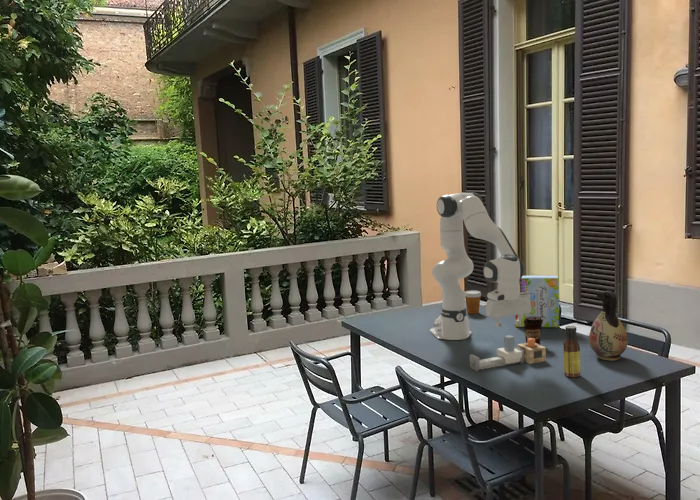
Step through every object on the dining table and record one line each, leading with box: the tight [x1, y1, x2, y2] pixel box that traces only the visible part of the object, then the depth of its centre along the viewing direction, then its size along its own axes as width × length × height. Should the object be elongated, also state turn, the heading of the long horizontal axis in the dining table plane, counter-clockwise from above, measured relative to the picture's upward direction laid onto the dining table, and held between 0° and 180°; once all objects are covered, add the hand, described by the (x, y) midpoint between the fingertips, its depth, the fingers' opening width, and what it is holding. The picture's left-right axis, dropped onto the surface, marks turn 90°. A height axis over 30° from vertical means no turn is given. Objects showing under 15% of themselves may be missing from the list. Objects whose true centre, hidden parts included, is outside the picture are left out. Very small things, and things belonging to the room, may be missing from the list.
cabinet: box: [516, 342, 547, 365], centre depth 262 cm, size 9×8×6 cm
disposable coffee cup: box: [464, 289, 482, 315], centre depth 342 cm, size 10×10×12 cm
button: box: [527, 338, 535, 348], centre depth 262 cm, size 3×3×5 cm
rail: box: [469, 346, 525, 372], centre depth 257 cm, size 5×23×6 cm, turn 109°
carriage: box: [496, 334, 522, 364], centre depth 258 cm, size 8×7×10 cm
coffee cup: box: [524, 316, 543, 345], centre depth 281 cm, size 9×8×13 cm
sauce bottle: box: [562, 325, 582, 378], centre depth 240 cm, size 7×6×20 cm
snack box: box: [514, 274, 560, 328], centre depth 311 cm, size 22×9×26 cm, turn 76°
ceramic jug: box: [588, 289, 629, 361], centre depth 258 cm, size 17×15×30 cm
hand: (508, 325), depth 257 cm, fingers open, 8 cm apart
